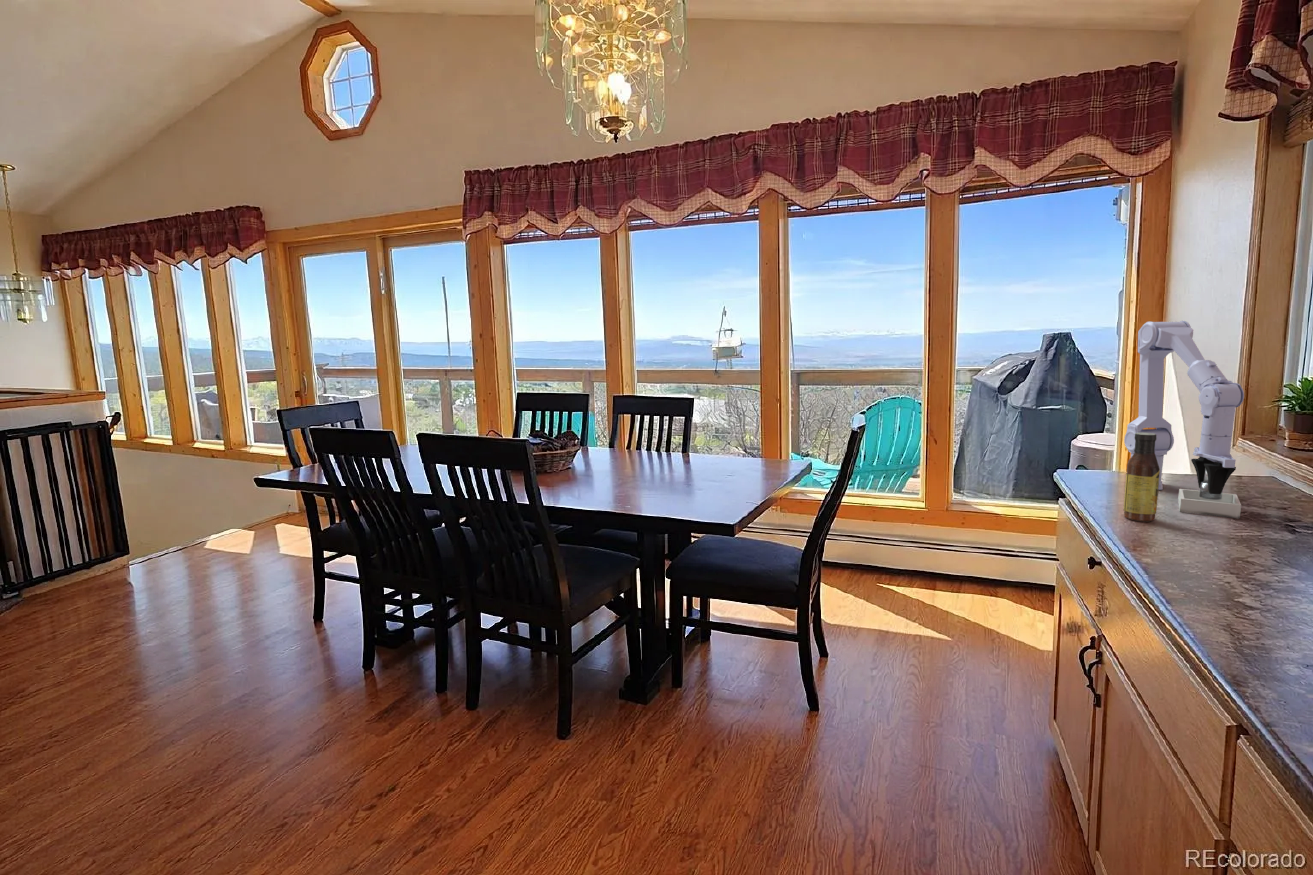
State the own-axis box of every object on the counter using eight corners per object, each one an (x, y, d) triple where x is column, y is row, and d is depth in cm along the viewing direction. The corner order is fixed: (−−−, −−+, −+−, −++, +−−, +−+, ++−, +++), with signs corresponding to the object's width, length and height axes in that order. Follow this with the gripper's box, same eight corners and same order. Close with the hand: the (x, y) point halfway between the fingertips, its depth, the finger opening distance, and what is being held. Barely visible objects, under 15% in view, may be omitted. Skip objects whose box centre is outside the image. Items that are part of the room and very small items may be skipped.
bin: (1177, 501, 175) (1179, 488, 174) (1234, 507, 169) (1236, 494, 168) (1179, 511, 166) (1181, 498, 165) (1239, 518, 160) (1241, 505, 159)
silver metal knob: (1214, 495, 168) (1218, 466, 167) (1225, 499, 164) (1229, 470, 163) (1195, 494, 169) (1198, 466, 168) (1205, 499, 165) (1209, 470, 164)
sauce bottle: (1160, 523, 158) (1170, 436, 154) (1129, 522, 159) (1138, 436, 156) (1146, 515, 164) (1155, 431, 161) (1117, 514, 165) (1125, 431, 162)
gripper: (1182, 429, 172) (1176, 483, 175) (1212, 439, 158) (1205, 498, 161) (1215, 429, 170) (1209, 484, 173) (1249, 440, 157) (1241, 499, 159)
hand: (1209, 491), depth 167 cm, fingers closed on silver metal knob, 4 cm apart
